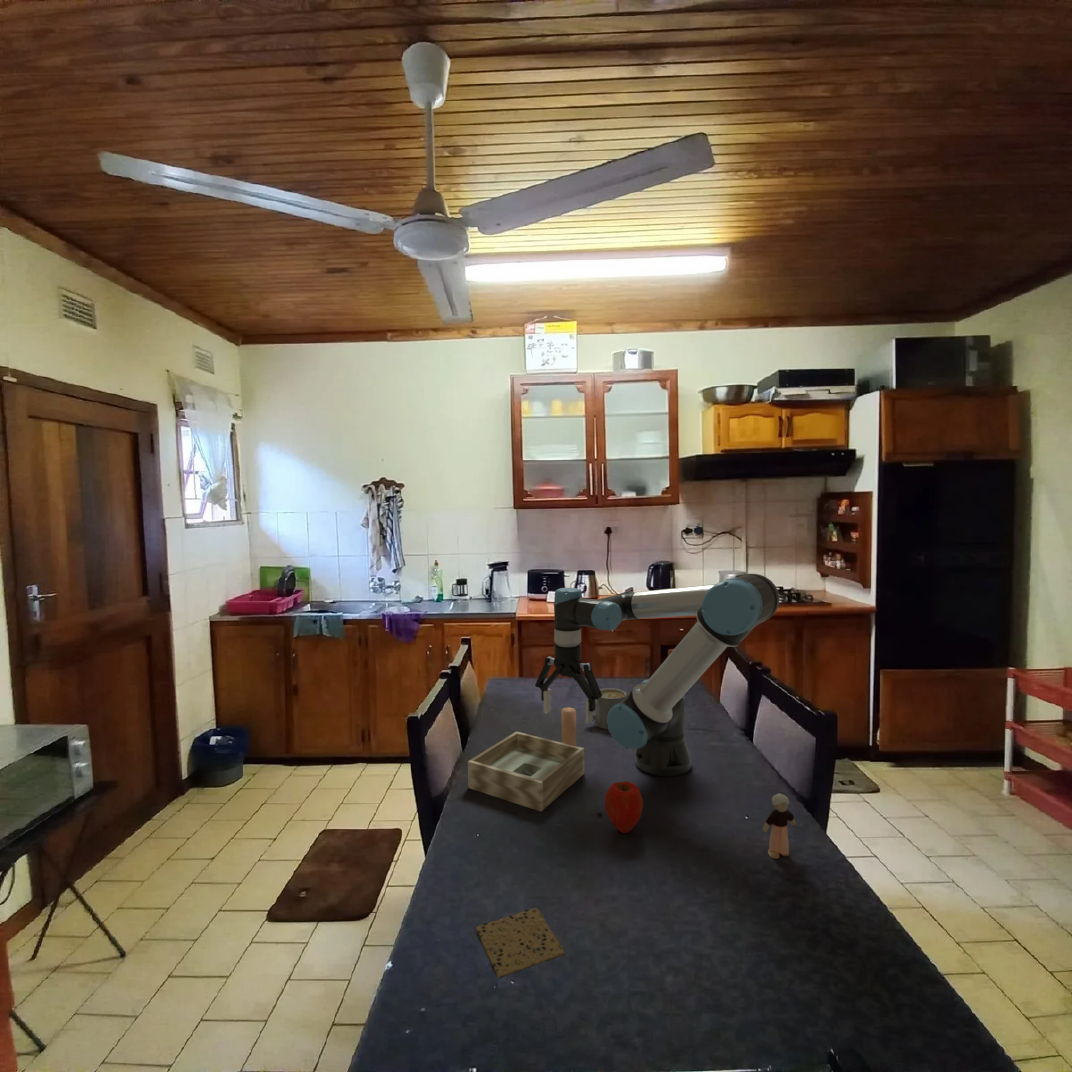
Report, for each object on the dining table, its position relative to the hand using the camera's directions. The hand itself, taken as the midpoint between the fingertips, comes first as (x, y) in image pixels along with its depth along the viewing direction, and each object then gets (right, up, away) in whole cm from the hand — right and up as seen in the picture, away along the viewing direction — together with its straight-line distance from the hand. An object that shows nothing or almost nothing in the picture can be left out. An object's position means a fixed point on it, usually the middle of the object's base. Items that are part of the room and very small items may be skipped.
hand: (567, 717), depth 166 cm
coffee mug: (+14, -10, +25) cm, 30 cm away
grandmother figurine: (+42, -15, -44) cm, 63 cm away
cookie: (-12, -18, -67) cm, 70 cm away
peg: (0, -12, +1) cm, 12 cm away
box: (-11, -13, -12) cm, 21 cm away
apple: (+11, -15, -35) cm, 40 cm away
